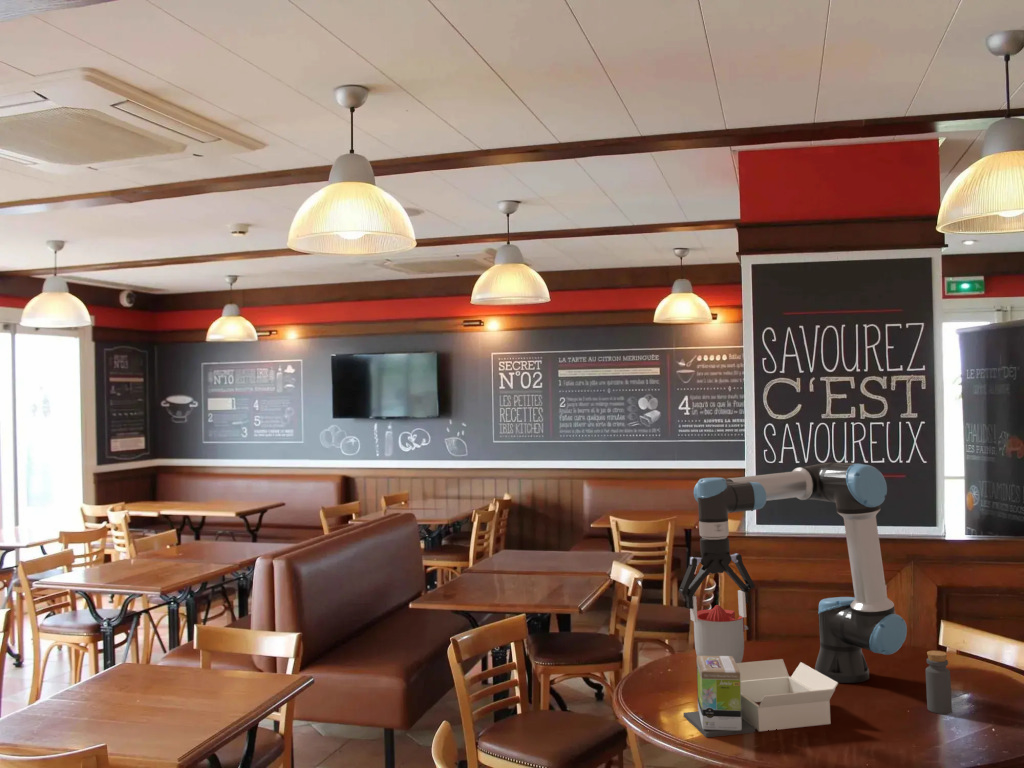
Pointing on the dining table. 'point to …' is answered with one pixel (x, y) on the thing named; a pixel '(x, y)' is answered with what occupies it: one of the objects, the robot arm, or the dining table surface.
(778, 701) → the carton
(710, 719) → the tea box
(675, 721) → the dining table surface
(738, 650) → the citrus juicer
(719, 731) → the mat
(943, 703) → the bottle
